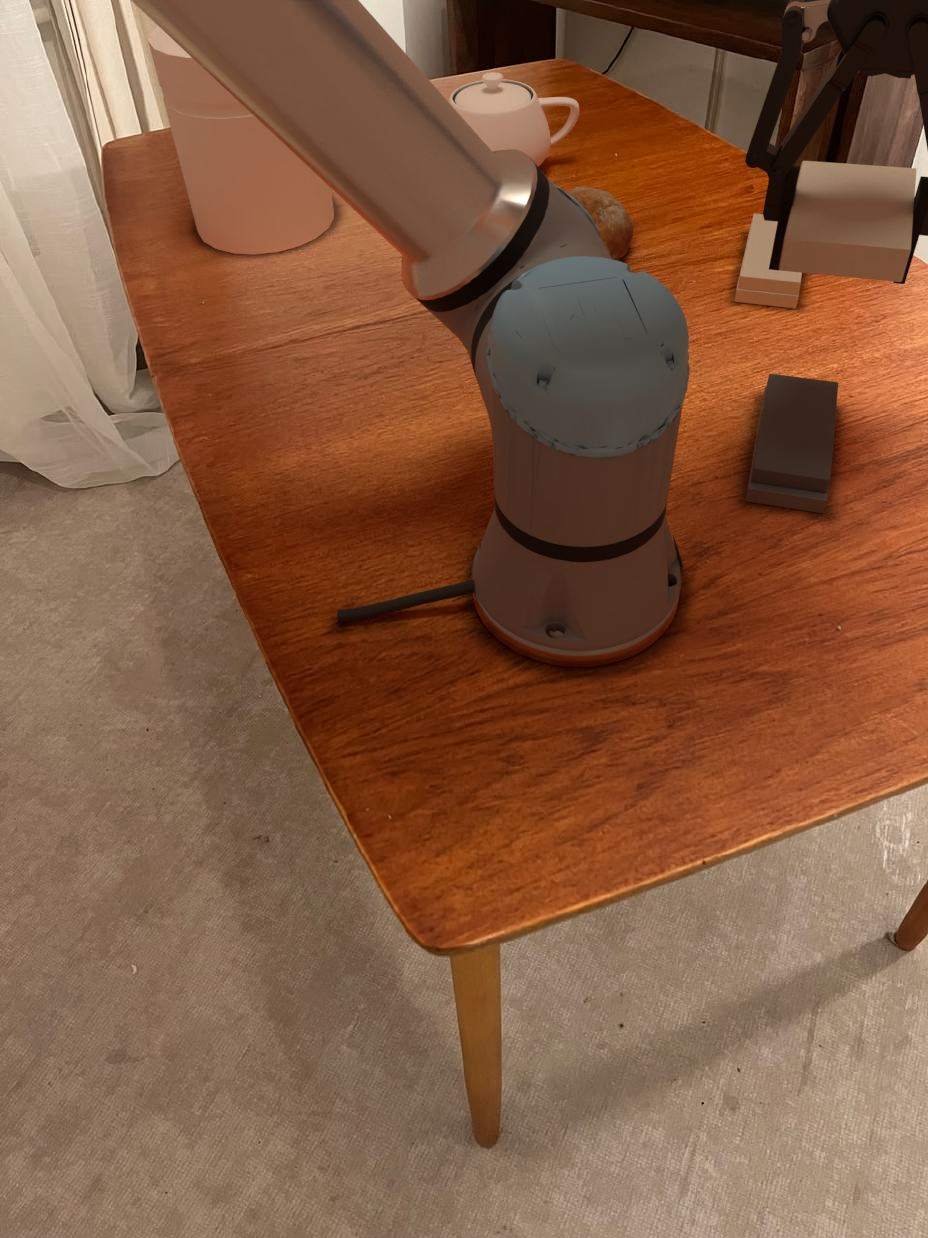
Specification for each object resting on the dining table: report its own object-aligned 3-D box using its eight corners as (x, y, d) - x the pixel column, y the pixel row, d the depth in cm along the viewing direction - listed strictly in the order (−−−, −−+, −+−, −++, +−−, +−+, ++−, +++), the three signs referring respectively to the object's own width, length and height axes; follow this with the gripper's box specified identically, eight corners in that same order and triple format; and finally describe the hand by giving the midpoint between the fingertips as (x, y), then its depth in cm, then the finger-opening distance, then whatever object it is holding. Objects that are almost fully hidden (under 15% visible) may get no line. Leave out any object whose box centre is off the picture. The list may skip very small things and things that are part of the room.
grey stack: (822, 513, 77) (831, 486, 75) (745, 501, 79) (751, 474, 77) (832, 408, 86) (839, 381, 84) (762, 399, 87) (768, 372, 85)
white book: (901, 282, 66) (911, 248, 64) (778, 270, 68) (784, 237, 66) (907, 200, 73) (916, 167, 71) (796, 191, 75) (802, 159, 73)
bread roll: (636, 282, 108) (661, 207, 104) (585, 280, 101) (611, 198, 97) (566, 254, 113) (588, 181, 109) (513, 250, 105) (534, 171, 101)
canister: (190, 201, 118) (142, 15, 103) (321, 179, 121) (292, -6, 106) (205, 265, 108) (153, 68, 93) (347, 239, 110) (319, 43, 95)
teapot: (568, 138, 125) (571, 45, 117) (586, 186, 116) (591, 89, 108) (396, 153, 125) (388, 60, 117) (401, 202, 116) (392, 106, 107)
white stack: (795, 308, 97) (801, 282, 95) (734, 301, 98) (738, 276, 96) (805, 240, 106) (811, 215, 103) (748, 234, 107) (753, 209, 105)
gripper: (1128, -122, 55) (988, 257, 72) (749, -126, 60) (702, 228, 77) (1143, -84, 51) (990, 311, 68) (731, -92, 56) (686, 277, 73)
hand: (837, 266), depth 72 cm, fingers closed on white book, 8 cm apart
